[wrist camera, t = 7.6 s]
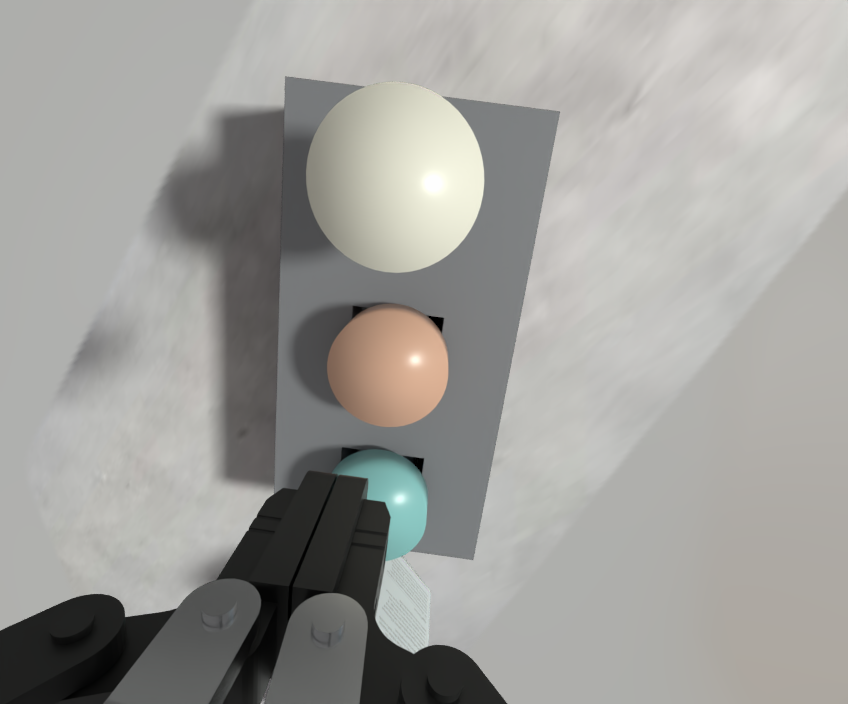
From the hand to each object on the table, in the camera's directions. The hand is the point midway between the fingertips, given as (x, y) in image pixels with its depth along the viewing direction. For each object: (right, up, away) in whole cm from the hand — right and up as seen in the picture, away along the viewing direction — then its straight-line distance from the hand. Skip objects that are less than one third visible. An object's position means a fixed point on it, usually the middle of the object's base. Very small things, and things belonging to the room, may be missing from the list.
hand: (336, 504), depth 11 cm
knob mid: (+1, +5, +17) cm, 17 cm away
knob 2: (0, -2, +19) cm, 19 cm away
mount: (+1, +5, +18) cm, 19 cm away
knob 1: (+2, +11, +10) cm, 15 cm away
